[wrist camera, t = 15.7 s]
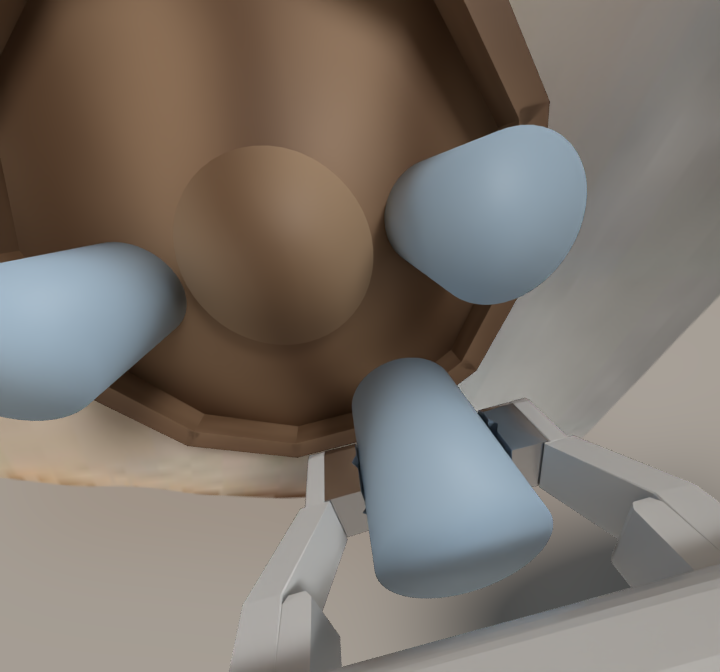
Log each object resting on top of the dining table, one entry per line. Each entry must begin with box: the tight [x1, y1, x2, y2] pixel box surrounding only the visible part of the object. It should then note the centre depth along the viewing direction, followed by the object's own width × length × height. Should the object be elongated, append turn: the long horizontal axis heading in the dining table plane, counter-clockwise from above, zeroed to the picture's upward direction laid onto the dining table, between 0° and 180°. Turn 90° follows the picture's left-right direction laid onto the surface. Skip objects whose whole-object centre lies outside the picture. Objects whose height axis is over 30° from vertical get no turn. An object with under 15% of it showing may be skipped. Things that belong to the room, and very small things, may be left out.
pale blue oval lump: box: [0, 242, 187, 421], centre depth 9 cm, size 4×4×5 cm
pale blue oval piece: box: [384, 125, 587, 305], centre depth 9 cm, size 4×4×5 cm
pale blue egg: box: [352, 358, 553, 598], centre depth 8 cm, size 4×4×5 cm
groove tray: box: [0, 0, 550, 458], centre depth 11 cm, size 20×20×2 cm
